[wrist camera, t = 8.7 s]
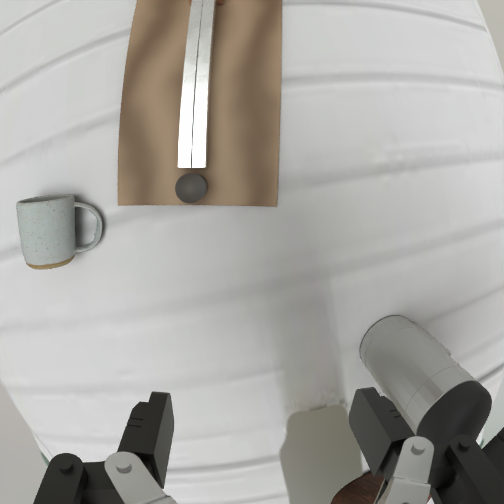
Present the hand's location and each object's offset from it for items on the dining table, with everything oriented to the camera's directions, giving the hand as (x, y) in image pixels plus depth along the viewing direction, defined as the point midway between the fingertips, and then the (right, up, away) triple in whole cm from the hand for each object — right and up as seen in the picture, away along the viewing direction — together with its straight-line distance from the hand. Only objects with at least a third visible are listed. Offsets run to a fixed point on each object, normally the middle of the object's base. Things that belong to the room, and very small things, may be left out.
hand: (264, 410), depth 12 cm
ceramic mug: (-23, +10, +22) cm, 34 cm away
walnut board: (-6, +28, +19) cm, 34 cm away
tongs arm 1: (-5, +27, +18) cm, 33 cm away
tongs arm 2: (-7, +27, +17) cm, 33 cm away
